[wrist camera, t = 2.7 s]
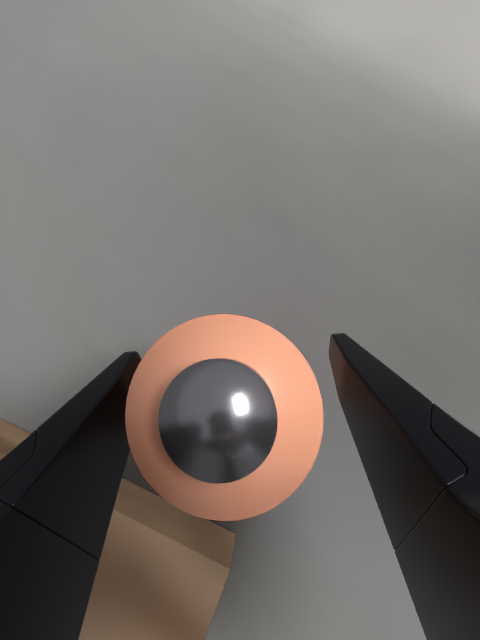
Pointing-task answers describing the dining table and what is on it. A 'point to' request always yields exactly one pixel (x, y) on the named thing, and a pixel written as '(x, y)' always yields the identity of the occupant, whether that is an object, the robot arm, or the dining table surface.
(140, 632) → the dial board
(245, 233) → the dining table surface
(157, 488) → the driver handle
